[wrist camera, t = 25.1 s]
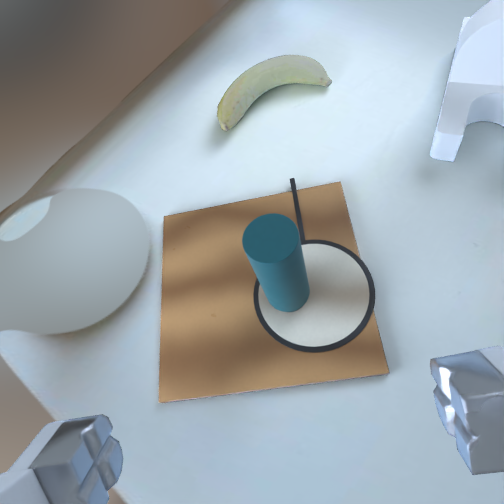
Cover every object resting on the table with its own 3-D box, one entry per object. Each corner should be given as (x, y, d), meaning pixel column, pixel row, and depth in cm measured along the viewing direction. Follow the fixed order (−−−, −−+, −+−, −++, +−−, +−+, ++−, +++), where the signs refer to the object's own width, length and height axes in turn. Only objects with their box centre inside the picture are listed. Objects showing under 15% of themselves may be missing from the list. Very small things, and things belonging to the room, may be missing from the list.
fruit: (207, 107, 52) (199, 86, 49) (306, 57, 52) (304, 34, 49) (227, 140, 48) (220, 120, 45) (333, 86, 49) (333, 63, 46)
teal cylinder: (313, 312, 35) (303, 257, 25) (270, 318, 35) (244, 268, 26) (306, 272, 37) (294, 208, 27) (265, 279, 37) (239, 218, 28)
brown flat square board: (396, 373, 32) (397, 371, 31) (160, 403, 34) (157, 402, 34) (343, 172, 42) (343, 167, 42) (166, 207, 45) (163, 204, 44)
